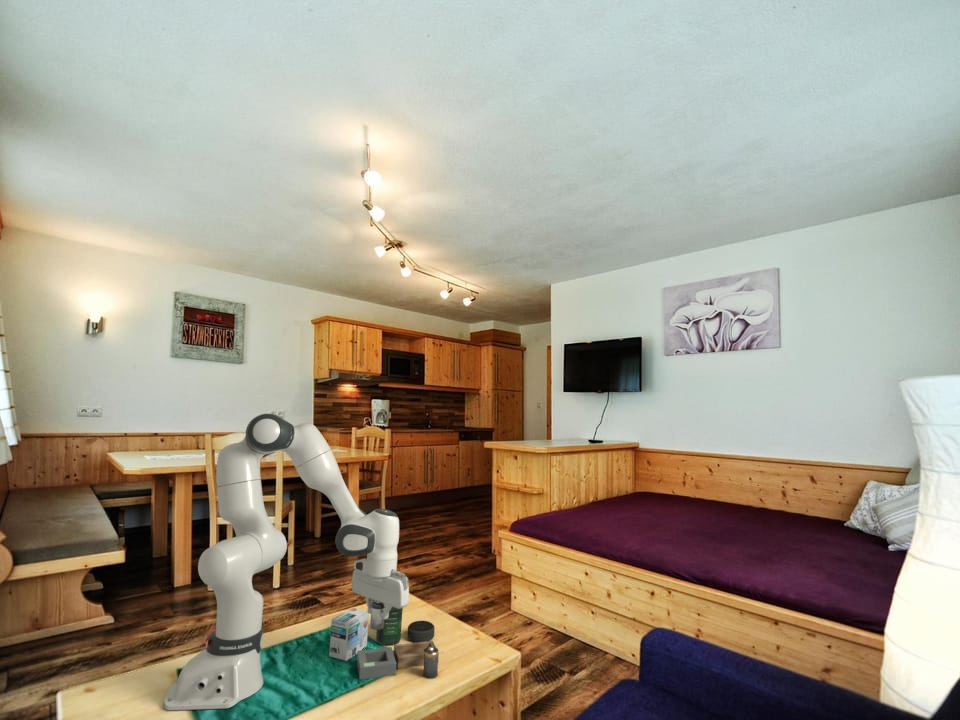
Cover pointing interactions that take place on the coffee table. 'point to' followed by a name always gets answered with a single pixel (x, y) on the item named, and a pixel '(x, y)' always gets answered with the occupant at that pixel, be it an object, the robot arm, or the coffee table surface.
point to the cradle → (376, 663)
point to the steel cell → (377, 615)
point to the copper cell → (430, 662)
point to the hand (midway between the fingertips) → (377, 615)
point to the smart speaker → (420, 631)
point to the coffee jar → (391, 628)
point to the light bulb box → (348, 633)
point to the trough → (411, 654)
